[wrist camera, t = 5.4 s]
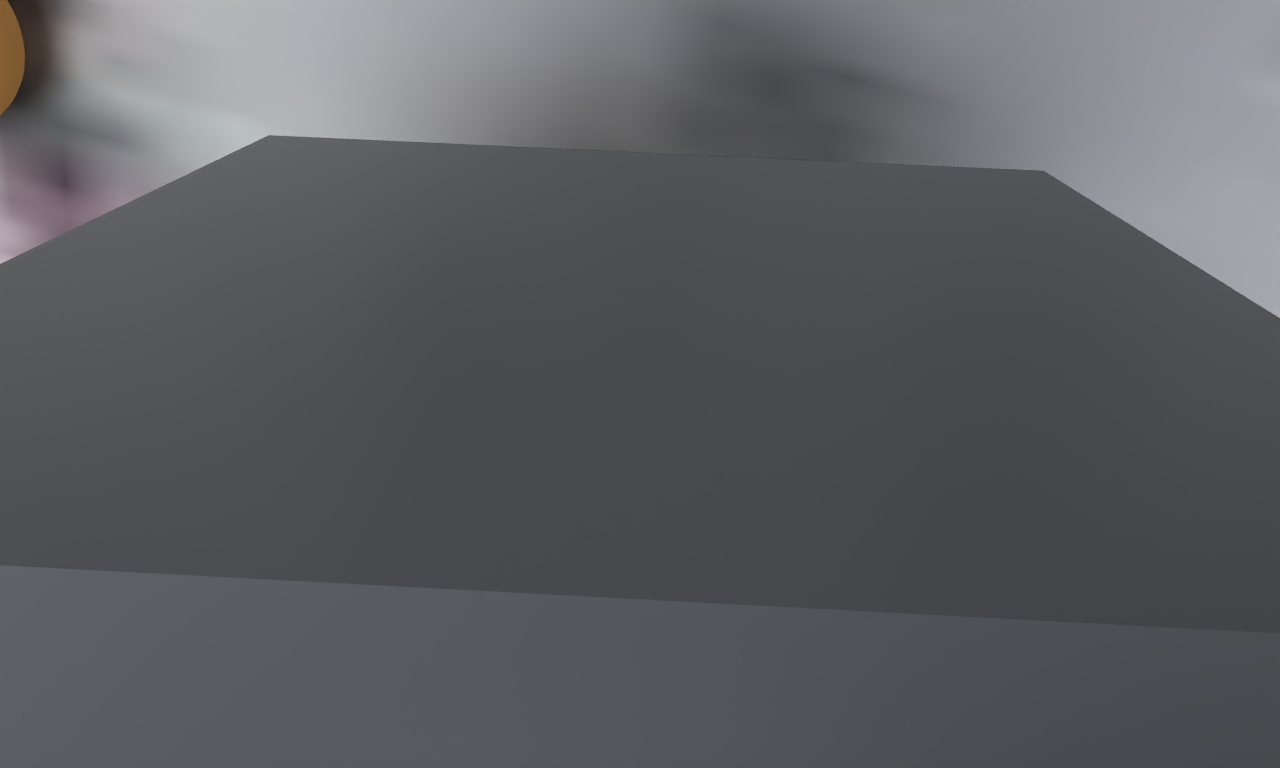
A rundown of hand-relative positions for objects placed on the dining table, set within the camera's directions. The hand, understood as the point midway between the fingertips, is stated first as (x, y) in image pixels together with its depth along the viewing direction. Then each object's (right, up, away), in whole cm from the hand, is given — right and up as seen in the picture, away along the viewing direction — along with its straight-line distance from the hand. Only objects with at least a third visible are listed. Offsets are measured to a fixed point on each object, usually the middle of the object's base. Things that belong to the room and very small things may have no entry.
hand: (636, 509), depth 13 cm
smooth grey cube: (0, 0, +1) cm, 1 cm away
